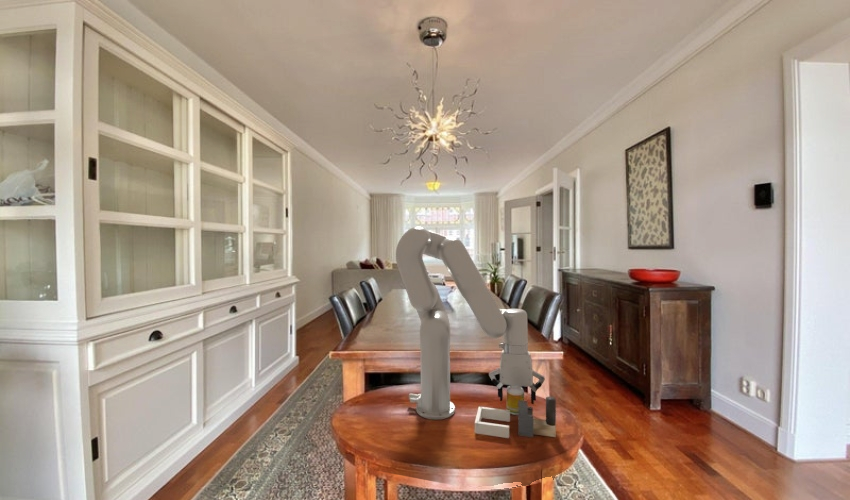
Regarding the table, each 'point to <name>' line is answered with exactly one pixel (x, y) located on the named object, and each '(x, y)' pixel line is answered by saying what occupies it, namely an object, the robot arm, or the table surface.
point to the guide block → (525, 419)
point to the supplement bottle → (514, 398)
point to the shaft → (547, 420)
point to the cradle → (490, 427)
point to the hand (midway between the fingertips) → (516, 400)
